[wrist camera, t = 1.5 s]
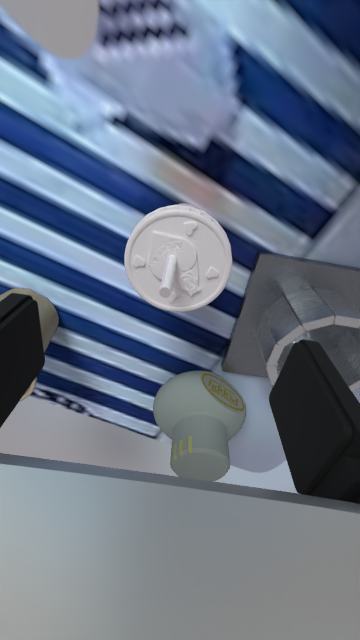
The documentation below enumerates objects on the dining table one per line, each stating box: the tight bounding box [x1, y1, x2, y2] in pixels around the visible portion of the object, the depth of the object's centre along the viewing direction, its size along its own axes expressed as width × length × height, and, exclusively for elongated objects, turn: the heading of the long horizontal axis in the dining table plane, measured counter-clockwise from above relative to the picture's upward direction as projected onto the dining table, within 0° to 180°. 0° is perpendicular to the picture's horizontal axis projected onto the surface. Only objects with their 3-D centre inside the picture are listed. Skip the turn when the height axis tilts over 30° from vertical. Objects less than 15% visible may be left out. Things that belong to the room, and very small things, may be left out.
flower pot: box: [0, 288, 59, 401], centre depth 26 cm, size 9×9×9 cm
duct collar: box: [221, 251, 360, 392], centre depth 26 cm, size 14×14×6 cm
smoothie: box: [124, 203, 232, 312], centre depth 18 cm, size 6×6×14 cm
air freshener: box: [153, 371, 246, 481], centre depth 31 cm, size 11×8×10 cm
